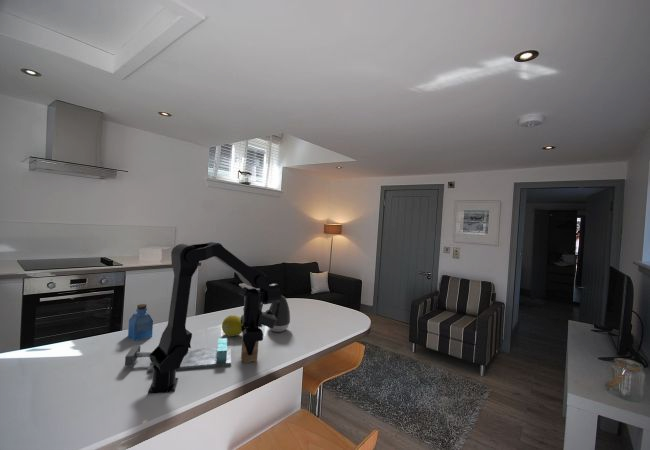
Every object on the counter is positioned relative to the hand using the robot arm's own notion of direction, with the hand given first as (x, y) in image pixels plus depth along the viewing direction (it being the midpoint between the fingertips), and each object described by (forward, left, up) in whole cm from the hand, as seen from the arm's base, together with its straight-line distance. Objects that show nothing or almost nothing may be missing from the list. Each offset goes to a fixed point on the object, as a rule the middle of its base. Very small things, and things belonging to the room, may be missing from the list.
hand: (249, 351), depth 102 cm
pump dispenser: (+25, -14, -3) cm, 29 cm away
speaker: (+40, -5, -3) cm, 40 cm away
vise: (+2, +18, -2) cm, 18 cm away
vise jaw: (+2, +31, -1) cm, 31 cm away
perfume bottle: (+25, +39, -3) cm, 46 cm away
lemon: (+21, +5, -3) cm, 22 cm away
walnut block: (0, 0, -2) cm, 2 cm away
